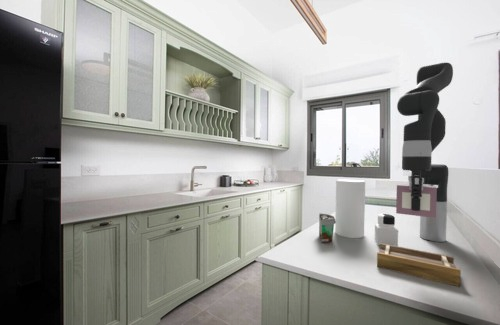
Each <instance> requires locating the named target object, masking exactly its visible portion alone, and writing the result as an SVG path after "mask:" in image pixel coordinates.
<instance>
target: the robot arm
mask: <svg viewBox="0 0 500 325" xmlns="http://www.w3.org/2000/svg"><path fill="white" fill-rule="evenodd" d="M453 68H454V67H453V64H451V62H450V63H449V62H440V63H435V64H431V65H430V64H429V65H424V66H421V67H419V68H418V70H417V71H416V86H415V87H414V88H413V89H411V90H409V91H407V92H405V93H403V94H402V95H401V96H400V97H399V99H398V101H397V106H396V108H397V109H396V110H397V111H398V113H399V114H400V115H402V116H405V117H411V116H417V120H415V121H413V122H409V123H406V124H405V125H404V126H403V143H402V149H401V150H402V152H401V154H402V155H401V170H402V171H411V175H408V177H407V179H408V180H407V181H408V185H409V190H410V191H411V209H412V210H414V211H420V199H421V198H422V195H421V194H422V191H423V186H424V185H426V186H437V187H436V188H437V200H436V218H432V217H423V216H419V217H420V218H419V219H420V220H419V238H421V239H423V240H428V241H431V242H437V243H438V242H439V243H444V242H445V243H446V241H447V220H448V218H447V216H448V206H447V205H448V183H449V167H448V166H447V165H446V164H440V163H439V164H437V163H432V155H433V151H434V150H435V149H436V148H437V147H438V146H439V145H440V144H441V142H443V140H444V138H445V136H446V123H447V122H446V118H445V117H444V115H443V113H441V111H440V110H439V109H438V108H439V105H440V96H439V95H440V94H439V93H440V92H442V91H443V90H444V89H445V88H447V87H449V86H450V84H451V83H452V81H453V78H454V77H453V76H454V69H453ZM411 185H412V187H411ZM413 191H419V193H413Z"/></svg>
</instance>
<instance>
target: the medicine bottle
mask: <svg viewBox="0 0 500 325" xmlns="http://www.w3.org/2000/svg"><path fill="white" fill-rule="evenodd" d="M395 224H396V219H395V216H394V215H391V214H387V213H380V214H378V215H377V223H375V224H374V241H375V242H376V244H377V245H378V246H380V243H383V244H388V245H393V246H399V230H398V228H396V226H395Z"/></svg>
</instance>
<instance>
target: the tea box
mask: <svg viewBox="0 0 500 325" xmlns="http://www.w3.org/2000/svg"><path fill="white" fill-rule="evenodd" d="M411 187H412V185H411ZM437 188H438V187H437V186H436V185H423V191H422V194H421V195H422V198H421V199H420V211H414V210H412V209H411V191H410V190H409V184H402V183H401V184H399V183H397V184H396V206H395V207H396V210H395V211H396V212H395V213H396V214H397V215H398V214H399V215H400V214H401V215H406V216H407V215H408V216H417V217H420V216H423V217H432V218H436V200H437ZM413 193H419V191H413Z"/></svg>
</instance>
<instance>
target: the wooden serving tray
mask: <svg viewBox="0 0 500 325" xmlns="http://www.w3.org/2000/svg"><path fill="white" fill-rule="evenodd" d="M378 250H379V251H377V254H376V255H377V256H376V267H377V268H380V269H384V270H389V271H394V272H396V273H397V272H398V273H402V274H406V275H410V276H414V277H418V278H423V279H427V280H430V281H435V282H439V283H442V284H443V283H444V284H448V285H452V286H456V287H461V276H462V275H461V272H462V270H461V268H458V267H457V266H456V265H455V257H454V256H452V255H446V254H441V253H435V252H431V251H426V250H420V249H414V248H409V247H403V246H400V245H398V246H393V245H388V244H383V243H380V245H379V249H378Z"/></svg>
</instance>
